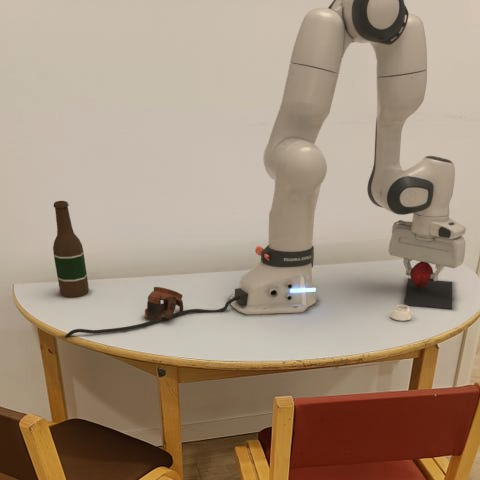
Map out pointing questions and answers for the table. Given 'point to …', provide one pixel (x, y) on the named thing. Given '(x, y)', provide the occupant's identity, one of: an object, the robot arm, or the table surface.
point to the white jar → (401, 313)
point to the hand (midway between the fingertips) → (421, 277)
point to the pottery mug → (168, 306)
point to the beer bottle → (69, 255)
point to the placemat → (429, 295)
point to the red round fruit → (421, 274)
